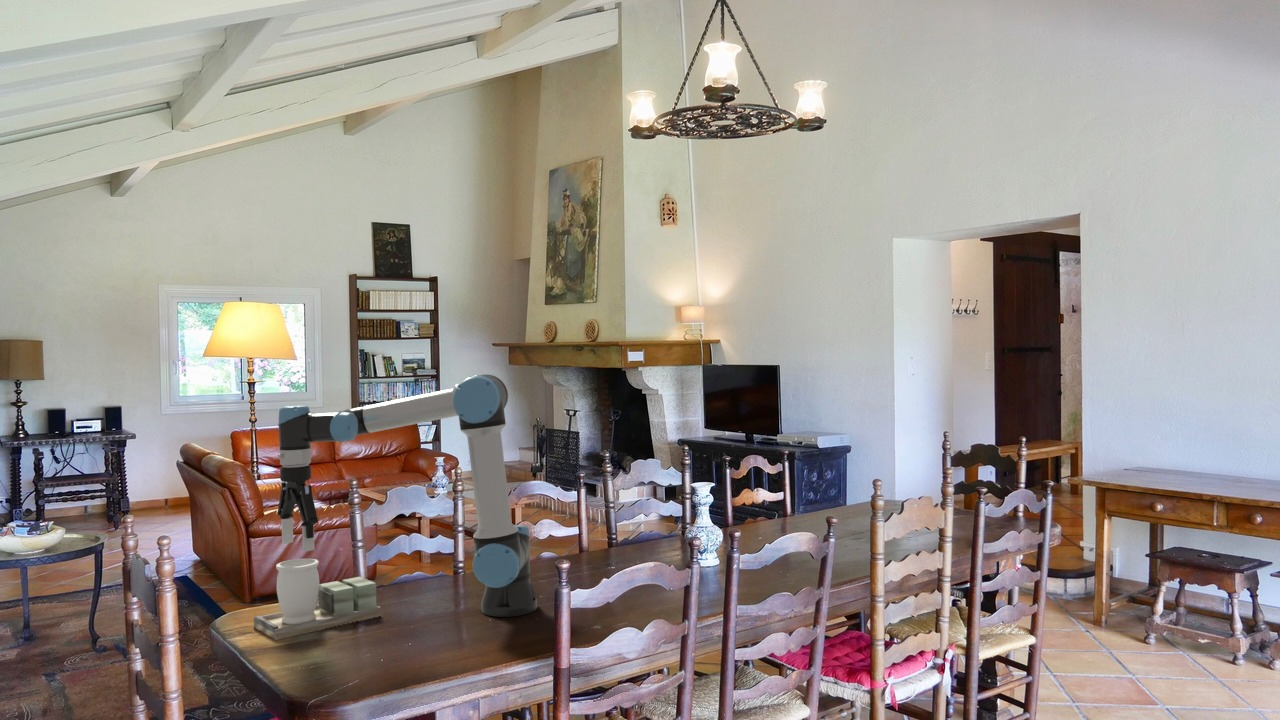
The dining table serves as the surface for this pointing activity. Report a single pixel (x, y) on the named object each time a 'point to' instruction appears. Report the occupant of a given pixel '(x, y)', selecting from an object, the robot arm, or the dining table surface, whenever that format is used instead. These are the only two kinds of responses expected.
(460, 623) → the dining table surface
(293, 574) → the jar
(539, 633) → the dining table surface
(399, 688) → the dining table surface
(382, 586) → the dining table surface
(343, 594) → the rail board
